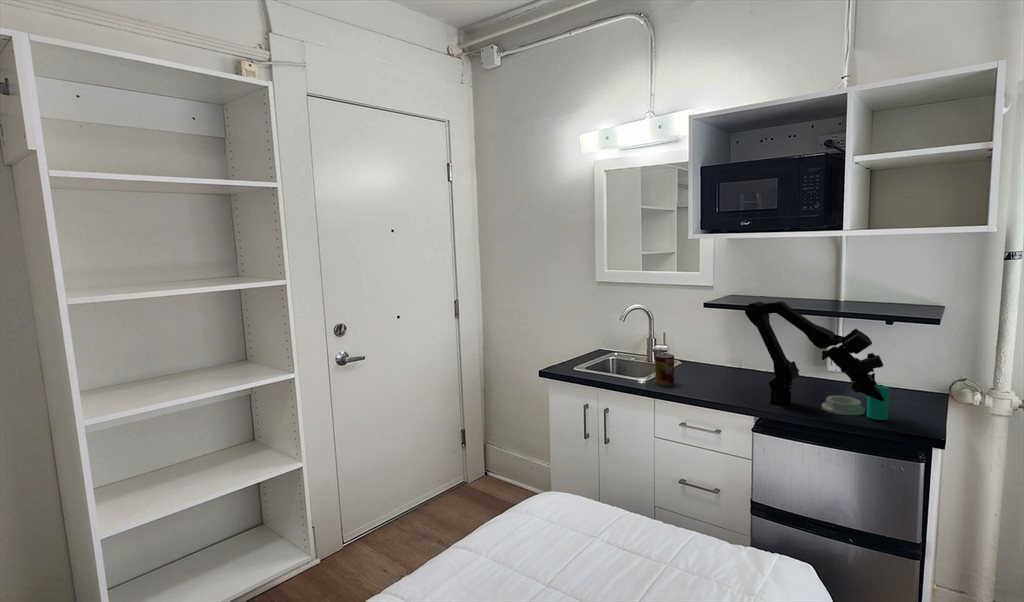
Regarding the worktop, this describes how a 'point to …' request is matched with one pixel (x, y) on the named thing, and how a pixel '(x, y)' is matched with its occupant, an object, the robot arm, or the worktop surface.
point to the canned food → (664, 369)
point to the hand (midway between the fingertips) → (883, 398)
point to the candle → (878, 404)
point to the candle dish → (843, 406)
